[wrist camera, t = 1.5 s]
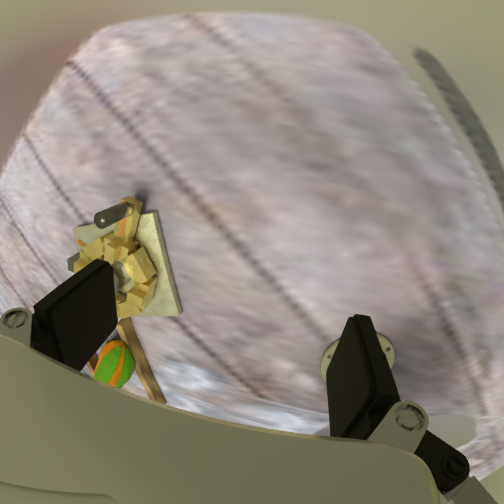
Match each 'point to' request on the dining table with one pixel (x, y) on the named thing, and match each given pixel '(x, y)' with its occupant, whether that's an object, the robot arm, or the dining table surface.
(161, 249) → the housing plate
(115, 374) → the corn
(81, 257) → the tan angular piece
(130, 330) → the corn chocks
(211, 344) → the dining table surface
